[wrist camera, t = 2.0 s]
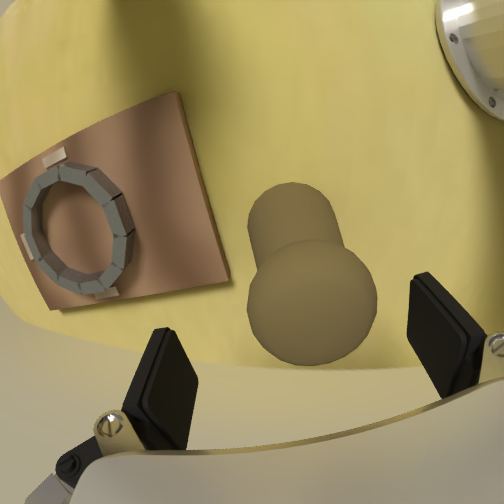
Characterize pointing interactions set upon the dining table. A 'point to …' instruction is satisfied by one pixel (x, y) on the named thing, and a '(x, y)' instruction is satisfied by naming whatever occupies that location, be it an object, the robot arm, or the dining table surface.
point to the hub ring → (115, 214)
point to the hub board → (139, 203)
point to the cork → (305, 279)
